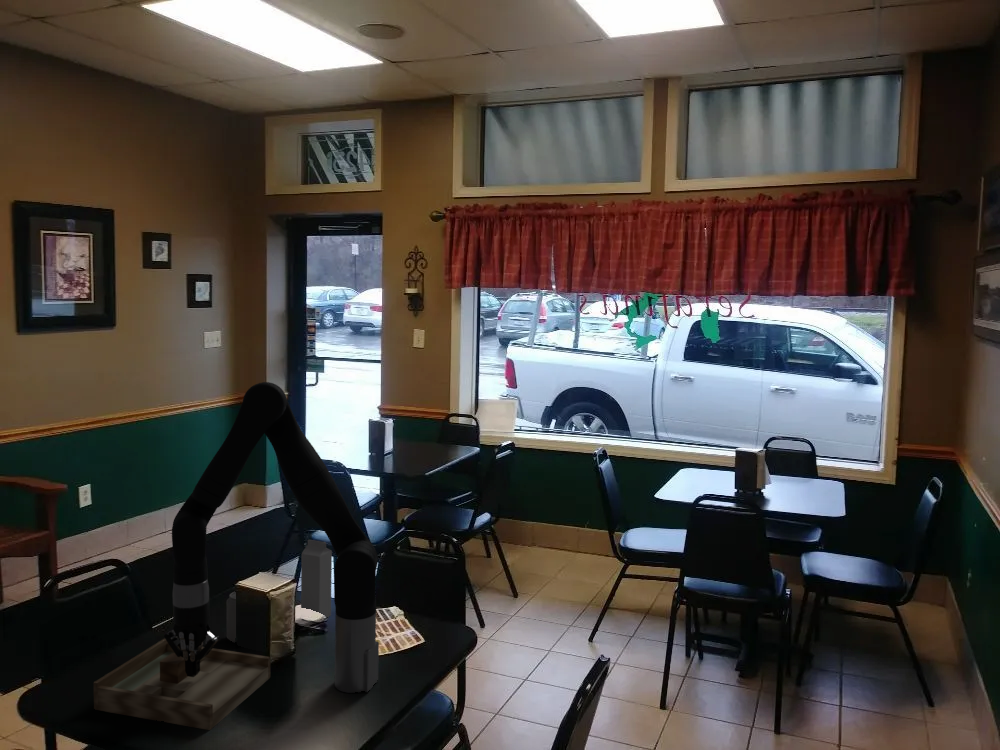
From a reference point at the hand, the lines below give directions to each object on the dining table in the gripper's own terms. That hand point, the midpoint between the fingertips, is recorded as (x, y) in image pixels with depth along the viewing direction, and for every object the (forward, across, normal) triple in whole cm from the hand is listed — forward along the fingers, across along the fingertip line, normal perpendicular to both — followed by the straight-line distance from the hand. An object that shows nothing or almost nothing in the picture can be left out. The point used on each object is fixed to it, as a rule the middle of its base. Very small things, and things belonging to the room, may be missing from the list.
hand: (192, 675), depth 178 cm
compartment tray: (+4, +2, 0) cm, 5 cm away
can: (+5, +6, -29) cm, 30 cm away
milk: (+5, -6, -47) cm, 48 cm away
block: (+1, +5, 0) cm, 5 cm away
